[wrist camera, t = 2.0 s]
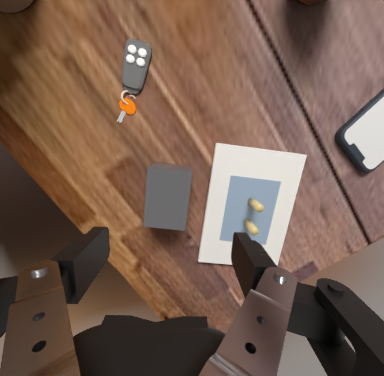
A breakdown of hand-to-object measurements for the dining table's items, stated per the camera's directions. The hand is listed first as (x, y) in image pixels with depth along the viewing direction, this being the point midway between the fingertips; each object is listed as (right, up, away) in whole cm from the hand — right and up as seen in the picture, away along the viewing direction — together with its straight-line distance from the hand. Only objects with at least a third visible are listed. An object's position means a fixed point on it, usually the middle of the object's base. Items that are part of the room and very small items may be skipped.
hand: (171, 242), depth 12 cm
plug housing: (-2, +3, +18) cm, 18 cm away
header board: (+11, 0, +19) cm, 22 cm away
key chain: (-7, +17, +15) cm, 24 cm away
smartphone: (+32, +14, +17) cm, 39 cm away
